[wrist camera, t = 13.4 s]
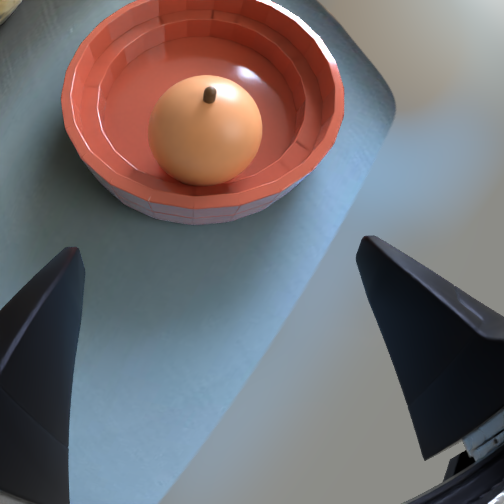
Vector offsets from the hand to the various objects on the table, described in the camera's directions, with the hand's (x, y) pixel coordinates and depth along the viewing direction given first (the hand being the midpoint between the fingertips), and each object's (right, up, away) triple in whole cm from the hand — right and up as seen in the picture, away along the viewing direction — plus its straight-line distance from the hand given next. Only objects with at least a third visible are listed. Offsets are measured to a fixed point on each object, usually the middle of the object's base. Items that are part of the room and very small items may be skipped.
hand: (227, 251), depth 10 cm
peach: (-3, +6, +11) cm, 13 cm away
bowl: (-3, +11, +12) cm, 16 cm away
